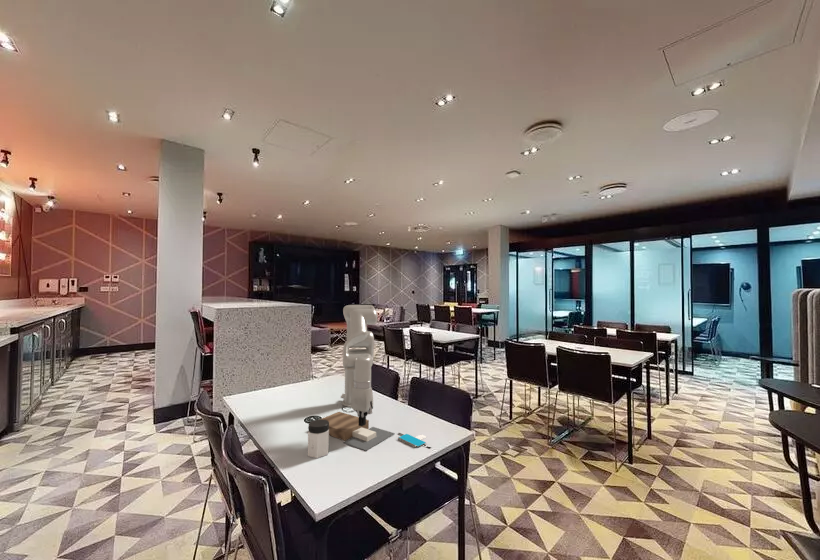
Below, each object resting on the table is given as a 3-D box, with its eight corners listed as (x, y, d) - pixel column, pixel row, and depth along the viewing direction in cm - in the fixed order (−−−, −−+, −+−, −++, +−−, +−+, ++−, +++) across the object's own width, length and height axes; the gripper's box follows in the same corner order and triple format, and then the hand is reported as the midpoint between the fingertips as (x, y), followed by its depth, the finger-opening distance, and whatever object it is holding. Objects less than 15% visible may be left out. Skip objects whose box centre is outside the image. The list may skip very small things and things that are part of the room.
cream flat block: (352, 436, 150) (352, 431, 150) (361, 431, 155) (361, 427, 155) (367, 441, 145) (367, 436, 145) (376, 436, 150) (376, 432, 150)
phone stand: (440, 444, 144) (441, 440, 144) (422, 453, 136) (422, 449, 136) (409, 430, 159) (409, 427, 159) (390, 438, 150) (390, 434, 150)
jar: (302, 455, 133) (303, 425, 133) (315, 446, 140) (316, 418, 141) (321, 459, 130) (321, 428, 130) (333, 450, 137) (333, 421, 138)
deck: (314, 430, 157) (314, 421, 157) (338, 419, 170) (338, 411, 171) (344, 440, 146) (344, 431, 146) (368, 428, 159) (368, 420, 160)
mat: (343, 443, 144) (343, 442, 144) (372, 427, 161) (372, 426, 161) (366, 451, 137) (366, 450, 137) (394, 434, 153) (394, 433, 153)
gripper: (345, 383, 153) (344, 424, 152) (369, 389, 145) (369, 431, 144) (356, 380, 159) (355, 419, 159) (380, 385, 151) (380, 426, 150)
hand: (362, 425), depth 151 cm, fingers closed
